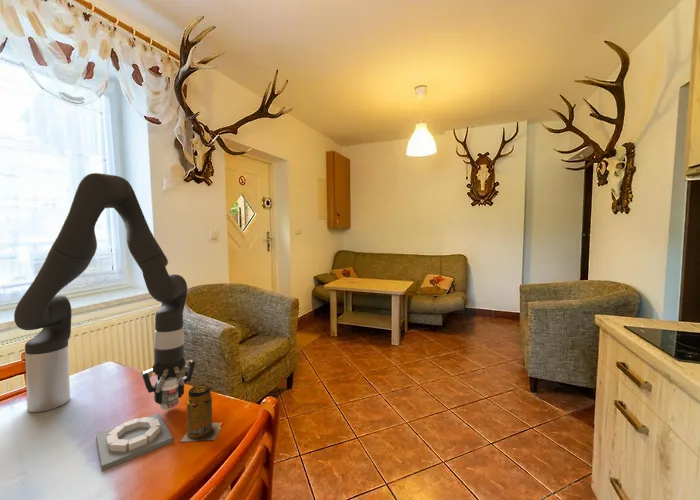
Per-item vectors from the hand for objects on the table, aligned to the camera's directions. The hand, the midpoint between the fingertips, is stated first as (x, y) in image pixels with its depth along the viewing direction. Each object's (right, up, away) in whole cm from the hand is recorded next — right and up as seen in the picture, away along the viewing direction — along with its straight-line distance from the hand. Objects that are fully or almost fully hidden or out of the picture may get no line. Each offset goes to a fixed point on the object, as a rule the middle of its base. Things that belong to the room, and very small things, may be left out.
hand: (169, 399), depth 90 cm
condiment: (+14, -5, -9) cm, 17 cm away
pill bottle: (0, -2, 0) cm, 2 cm away
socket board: (-1, -4, -13) cm, 13 cm away
